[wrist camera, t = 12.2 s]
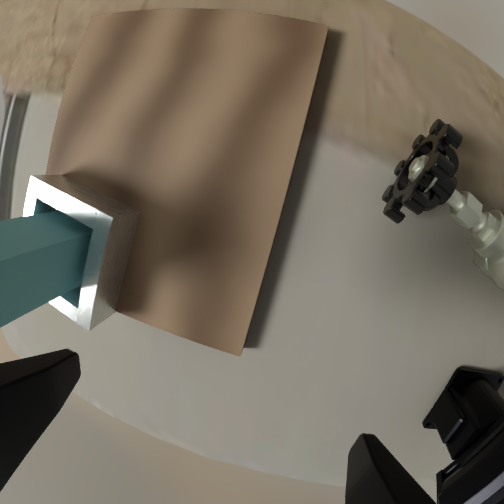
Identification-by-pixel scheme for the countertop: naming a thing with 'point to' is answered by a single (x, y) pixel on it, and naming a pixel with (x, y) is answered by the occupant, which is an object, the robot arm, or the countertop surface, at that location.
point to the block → (40, 260)
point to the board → (191, 153)
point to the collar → (101, 245)
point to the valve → (446, 196)
